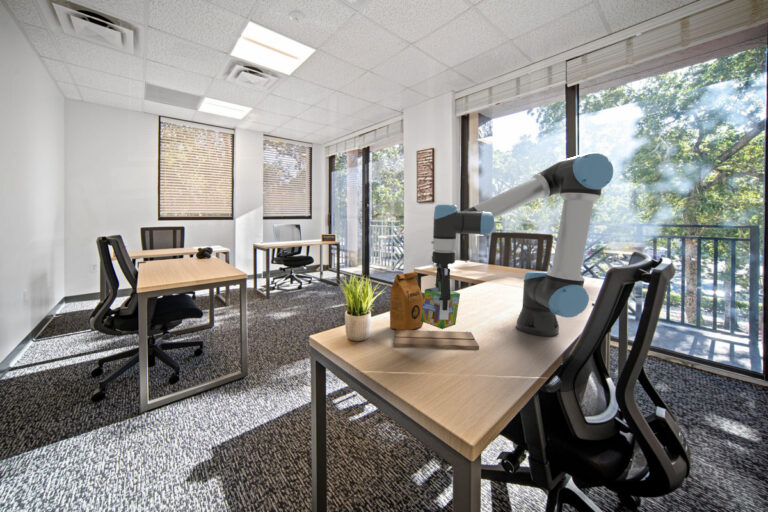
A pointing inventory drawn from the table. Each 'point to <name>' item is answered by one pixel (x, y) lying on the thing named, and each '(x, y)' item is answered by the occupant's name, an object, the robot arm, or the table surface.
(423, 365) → the table surface
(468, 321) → the table surface
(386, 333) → the table surface
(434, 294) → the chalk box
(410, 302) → the coffee package
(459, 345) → the wooden board
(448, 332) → the plank
